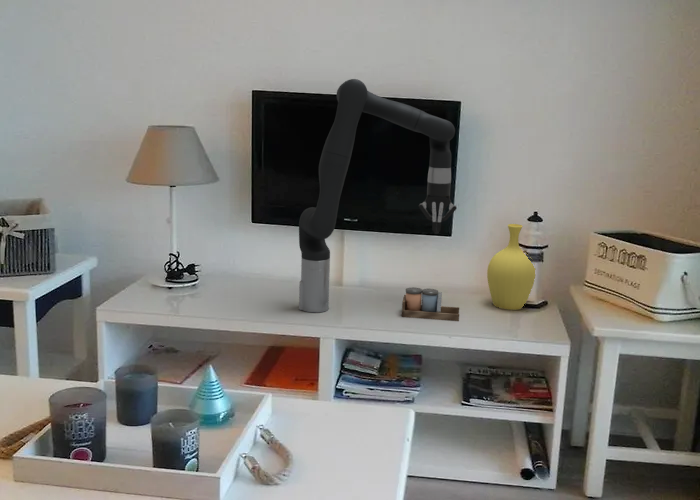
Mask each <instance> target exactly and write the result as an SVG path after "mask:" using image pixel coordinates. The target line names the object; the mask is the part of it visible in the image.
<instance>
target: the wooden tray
mask: <svg viewBox="0 0 700 500" xmlns="http://www.w3.org/2000/svg"><path fill="white" fill-rule="evenodd" d="M402 297H403V299H402V303H401V317H402V318H409V319H410V318H411V319H412V318H413V319H424V320H437V321H438V320H440V321H452V322H453V321H454V322H459V321H460V307H459V306H446V305H445V306H443V305H441V313H437V312H423V311H409V310H406V294H404V295H403V296H402ZM421 306H422V304H421Z"/></svg>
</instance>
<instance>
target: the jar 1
mask: <svg viewBox="0 0 700 500" xmlns="http://www.w3.org/2000/svg"><path fill="white" fill-rule="evenodd" d="M422 290H423V289H422V288H420V287H407V288H406V287H405V295H406V310H409V311H421V305H422Z"/></svg>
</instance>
